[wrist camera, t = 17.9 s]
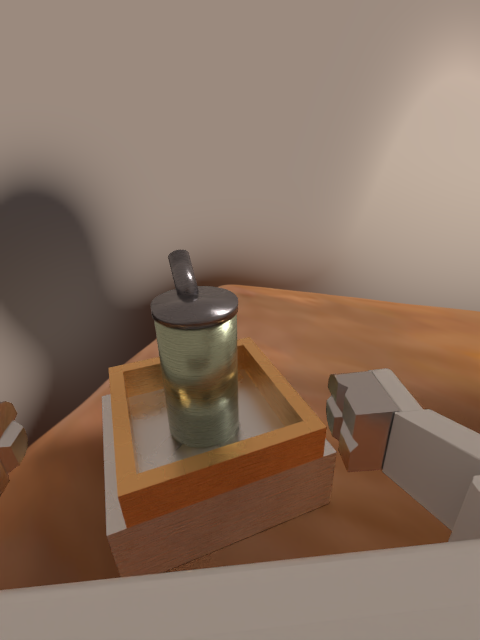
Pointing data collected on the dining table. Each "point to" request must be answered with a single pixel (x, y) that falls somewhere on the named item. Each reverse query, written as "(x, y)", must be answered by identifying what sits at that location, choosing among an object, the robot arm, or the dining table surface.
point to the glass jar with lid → (197, 357)
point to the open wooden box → (206, 467)
